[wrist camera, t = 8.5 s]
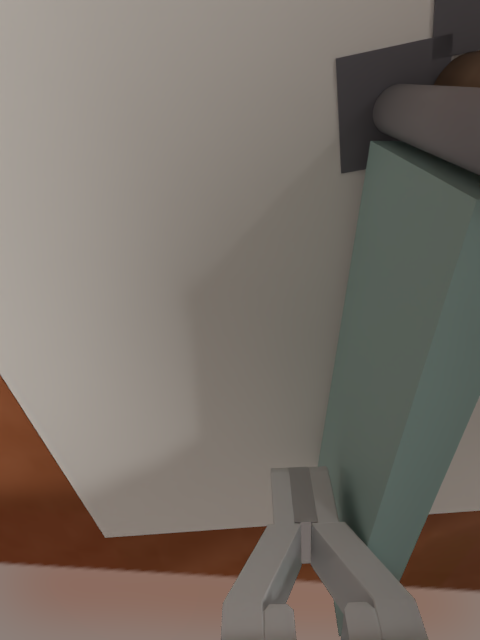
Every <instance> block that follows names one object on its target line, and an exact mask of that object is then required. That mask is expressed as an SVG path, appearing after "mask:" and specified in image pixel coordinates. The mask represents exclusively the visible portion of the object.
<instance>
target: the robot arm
mask: <svg viewBox="0 0 480 640" xmlns="http://www.w3.org/2000/svg"><path fill="white" fill-rule="evenodd" d="M270 475H271V492H272V508H273V524H268V525H267V527H266V529H265V531H264V532H263V534H262V536H261V538H260V539H259V541H258V543H257V545H256V546H255V548H254V550H253V552H252V553H251V555H250V557H249V559H248V560H247V562H246V564H245V566H244V567H243V569H242V571H241V572H240V574H239V576H238V578H237V579H236V581H235V583H234V585H233V586H232V588H231V590H230V592H229V593H228V595H227V597H226V599H225V600H224V602H223V609H222V610H223V611H222V628H221V640H296V631H295V620H294V610H293V609H292V608H291V607H290V606H289V605H287V604H286V602H287V600H288V597H289V595H290V592H291V590H292V588H293V585H294V583H295V580H296V578H297V576H298V573H299V571H300V568H301V564H304V563H311V566H312V567H313V569H314V570H315V572H316V573H317V575H318V576H319V578H320V579H321V581H322V582H323V584H324V585H325V587H326V588H327V590H328V591H329V593H330V595H331V596H332V597H333V599H334V601H335V602H336V604H337V605H338V607H339V608H340V610H341V611H342V613H343V614H344V616H343V625H342V633H341V640H428V637H427V634H426V631H425V628H424V625H423V622H422V619H421V616H420V613H419V610H418V606H417V603H416V601H415V599H414V598H413V597H412V595H411V594H410V593H409V592H408V591H407V590H406V589H405V588H404V587H403V586H402V584H401V583H400V582H399V581H398V580H397V579H396V578H395V577H394V576H393V574H392V573H391V572H390V571H389V570H388V569H387V568H386V567H385V566H384V565H383V563H382V562H381V561H380V560H379V559H378V558H377V557H376V556H375V555H374V553H373V552H372V551H371V550H370V549H369V548H368V547H367V546H366V545H365V543H364V542H363V541H362V540H361V539H360V538H359V537H358V536H357V535H356V534H355V532H354V531H353V530H352V529H351V528H350V527H349V526H348V525H347V524H346V522H339V518H338V513H337V509H336V504H335V499H334V495H333V490H332V485H331V481H330V476H329V471H328V469H327V467H326V466H318V467H290V468H271V473H270Z"/></svg>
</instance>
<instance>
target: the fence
mask: <svg viewBox="0 0 480 640" xmlns="http://www.w3.org/2000/svg"><path fill="white" fill-rule="evenodd" d="M434 85H437V86H458V87H478V88H480V51H474V52H468V53H465V54H462V55H460V56H458V57H457V58H455V59H453V60H452V61H451V62H450V63H449V64H448V65H447V66H446V67H445V68H444V69H443V71H442V72H441V73H440V75H439V76H438V78H437V79H436V81H435V83H434Z"/></svg>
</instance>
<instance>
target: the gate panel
mask: <svg viewBox="0 0 480 640" xmlns="http://www.w3.org/2000/svg"><path fill="white" fill-rule="evenodd" d="M373 120H374V124H375V126H376V127H377V129H378V130H379V131H381V132H382V133H384V134H386V135H389V136H391V137H393V138H396V139H398V140H400V141H370V147H369V153H368V160H367V166H366V172H365V178H364V184H363V190H362V197H361V203H360V209H359V215H358V221H357V227H356V234H355V240H354V246H353V252H352V258H351V264H350V271H349V277H348V283H347V289H346V295H345V301H344V307H343V314H342V320H341V326H340V332H339V338H338V344H337V351H336V357H335V363H334V369H333V375H332V381H331V388H330V394H329V400H328V406H327V412H326V418H325V425H324V431H323V437H322V443H321V449H320V455H319V461H318V466H326V467H327V469H328V471H329V476H330V481H331V485H332V490H333V495H334V499H335V504H336V509H337V513H338V518H339V522H346V524H347V525H348V526H349V527H350V528H351V529H352V530H353V531H354V532H355V534H356V535H357V536H358V537H359V538H360V539H361V540H362V541H363V542H364V543H365V545H366V546H367V547H368V548H369V549H370V550H371V551H372V552H373V553H374V555H375V556H376V557H377V558H378V559H379V560H380V561H381V562H382V563H383V565H384V566H385V567H386V568H387V569H388V570H389V571H390V572H391V573H392V574H393V576H394V577H395V578H396V579H397V580H398V581H400V579H401V577H402V574H403V572H404V570H405V568H406V565H407V563H408V561H409V558H410V556H411V554H412V551H413V549H414V547H415V544H416V542H417V540H418V537H419V535H420V533H421V530H422V528H423V526H424V524H425V521H426V519H427V517H428V514H429V512H430V510H431V507H432V505H433V503H434V500H435V498H436V496H437V493H438V491H439V489H440V486H441V484H442V482H443V480H444V477H445V475H446V473H447V470H448V468H449V466H450V463H451V461H452V459H453V456H454V454H455V452H456V449H457V447H458V445H459V443H460V440H461V438H462V436H463V433H464V431H465V429H466V426H467V424H468V422H469V419H470V417H471V415H472V412H473V410H474V408H475V405H476V403H477V401H478V399H479V396H480V88H478V87H458V86H437V85H416V84H395V85H392V86H390V87H388V88H387V89H385V90H384V91H383V92H382V93H381V94H380V95H379V97H378V98H377V100H376V102H375V105H374V108H373ZM334 606H335V613H336V618H337V626H338V633H339V636H341V633H342V625H343V616H344V614H343V613H342V611H341V610H340V608H339V607H338V605H337V604H336V602H335V601H334Z"/></svg>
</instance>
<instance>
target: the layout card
mask: <svg viewBox="0 0 480 640" xmlns="http://www.w3.org/2000/svg"><path fill="white" fill-rule="evenodd" d="M474 51H480V0H0V375H1V376H2V378H3V379H4V381H5V382H6V384H7V385H8V387H9V389H10V390H11V392H12V393H13V395H14V396H15V398H16V399H17V401H18V403H19V404H20V406H21V407H22V409H23V410H24V412H25V414H26V415H27V417H28V418H29V420H30V421H31V423H32V424H33V426H34V428H35V429H36V431H37V432H38V434H39V435H40V437H41V438H42V440H43V442H44V443H45V445H46V446H47V448H48V449H49V451H50V452H51V454H52V456H53V457H54V459H55V460H56V462H57V463H58V465H59V466H60V468H61V470H62V471H63V473H64V474H65V476H66V477H67V479H68V481H69V482H70V484H71V485H72V487H73V488H74V490H75V491H76V493H77V495H78V496H79V498H80V499H81V501H82V502H83V504H84V505H85V507H86V509H87V510H88V512H89V513H90V515H91V516H92V518H93V519H94V521H95V523H96V524H97V526H98V527H99V529H100V530H101V532H102V534H103V535H104V537H105V538H108V537H122V536H136V535H150V534H163V533H177V532H191V531H205V530H219V529H233V528H246V527H260V526H267V525H268V524H273V508H272V492H271V475H270V473H271V468H290V467H318V461H319V455H320V449H321V443H322V437H323V431H324V425H325V418H326V412H327V406H328V400H329V394H330V388H331V381H332V375H333V369H334V363H335V357H336V351H337V344H338V338H339V332H340V326H341V320H342V314H343V307H344V301H345V295H346V289H347V283H348V277H349V271H350V264H351V258H352V252H353V246H354V240H355V234H356V227H357V221H358V215H359V209H360V203H361V197H362V190H363V184H364V178H365V172H366V166H367V160H368V153H369V147H370V141H400V140H398V139H396V138H393V137H391V136H389V135H386V134H384V133H382V132H381V131H379V130H378V129H377V127H376V126H375V124H374V120H373V108H374V105H375V102H376V100H377V98H378V97H379V95H380V94H381V93H382V92H383V91H384V90H385V89H387V88H388V87H390V86H392V85H395V84H416V85H434V83H435V81H436V79H437V78H438V76H439V75H440V73H441V72H442V71H443V69H444V68H445V67H446V66H447V65H448V64H449V63H450V62H451V61H452V60H453V59H455V58H457V57H458V56H460V55H462V54H465V53H468V52H474ZM468 511H480V396H479V399H478V401H477V403H476V405H475V408H474V410H473V412H472V415H471V417H470V419H469V422H468V424H467V426H466V429H465V431H464V433H463V436H462V438H461V440H460V443H459V445H458V447H457V449H456V452H455V454H454V456H453V459H452V461H451V463H450V466H449V468H448V470H447V473H446V475H445V477H444V480H443V482H442V484H441V486H440V489H439V491H438V493H437V496H436V498H435V500H434V503H433V505H432V507H431V510H430V512H429V514H440V513H454V512H468Z"/></svg>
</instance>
